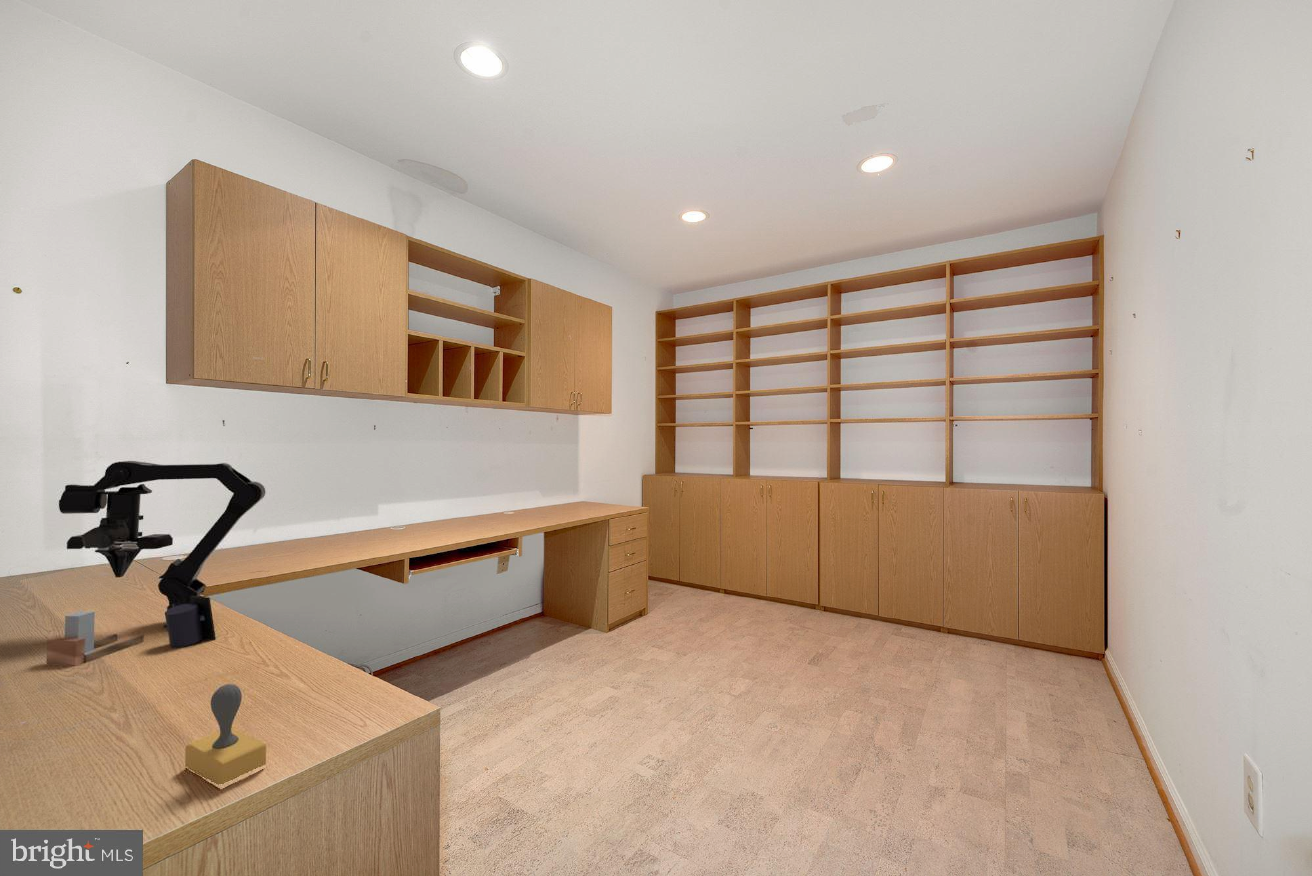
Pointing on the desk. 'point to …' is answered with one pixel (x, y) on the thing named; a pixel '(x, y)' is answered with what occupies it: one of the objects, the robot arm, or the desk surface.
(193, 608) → the speaker
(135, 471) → the robot arm
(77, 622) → the sliding block
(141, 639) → the guide track
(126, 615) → the desk surface
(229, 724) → the rubber stamp
